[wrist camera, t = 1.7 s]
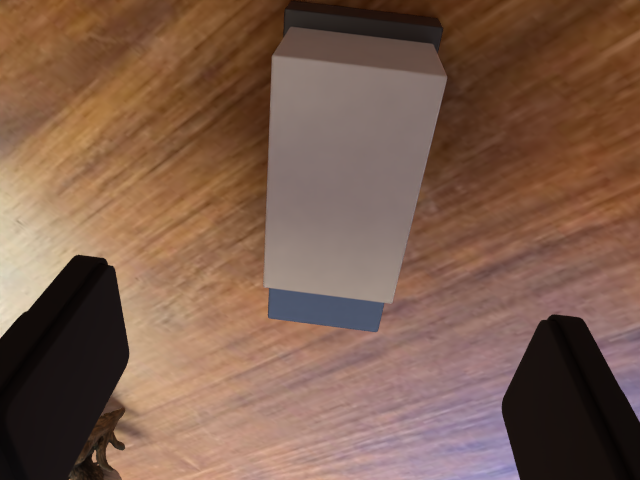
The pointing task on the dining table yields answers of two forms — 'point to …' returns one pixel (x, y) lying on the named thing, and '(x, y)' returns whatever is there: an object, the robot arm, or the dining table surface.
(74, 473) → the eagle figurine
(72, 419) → the robot arm
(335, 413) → the dining table surface
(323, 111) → the black base with blocks
